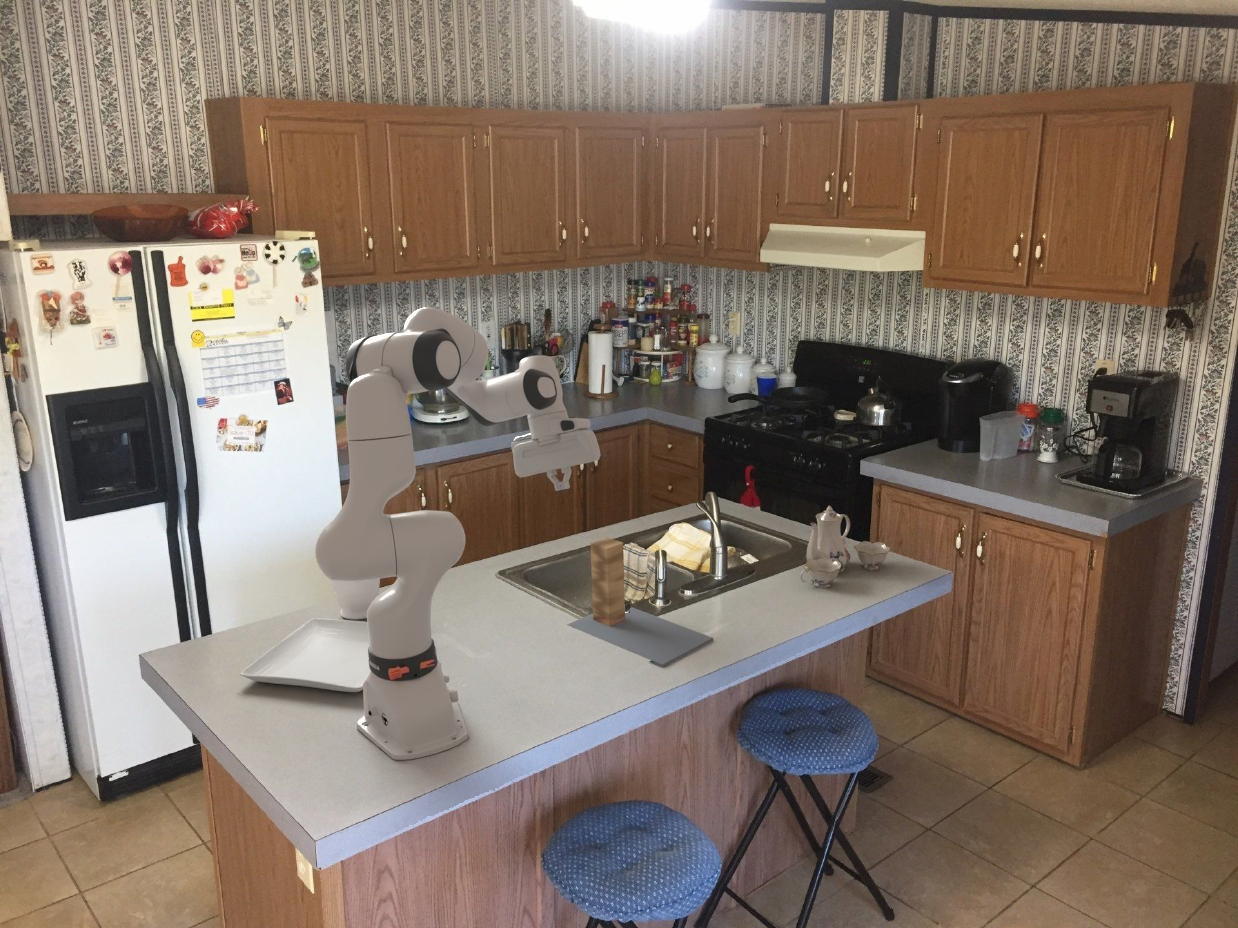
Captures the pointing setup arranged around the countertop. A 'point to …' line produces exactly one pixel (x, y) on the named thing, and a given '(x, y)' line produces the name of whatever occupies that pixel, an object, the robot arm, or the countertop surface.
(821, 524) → the chinaware
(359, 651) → the square plate
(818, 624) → the countertop surface
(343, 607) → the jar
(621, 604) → the oak block
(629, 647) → the mat
